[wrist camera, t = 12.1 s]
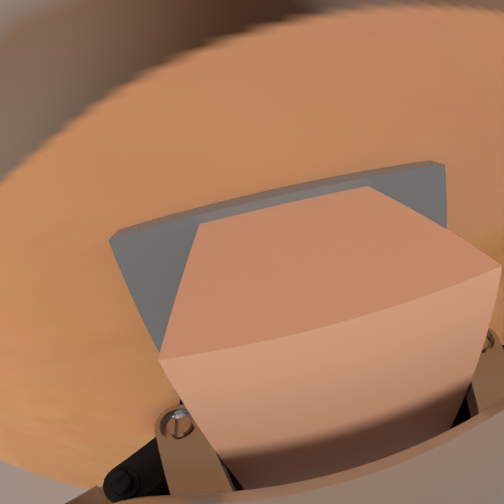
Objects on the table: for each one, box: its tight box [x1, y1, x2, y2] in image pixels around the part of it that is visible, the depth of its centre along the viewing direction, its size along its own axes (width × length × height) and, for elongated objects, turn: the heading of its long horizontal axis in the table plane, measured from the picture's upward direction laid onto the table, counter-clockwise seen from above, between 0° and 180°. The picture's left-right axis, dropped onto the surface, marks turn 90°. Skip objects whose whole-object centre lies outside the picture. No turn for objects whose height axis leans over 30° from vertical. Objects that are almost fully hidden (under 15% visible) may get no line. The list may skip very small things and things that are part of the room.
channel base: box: [109, 161, 446, 352], centre depth 13 cm, size 12×22×4 cm, turn 13°
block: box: [158, 186, 502, 490], centre depth 8 cm, size 6×6×6 cm
